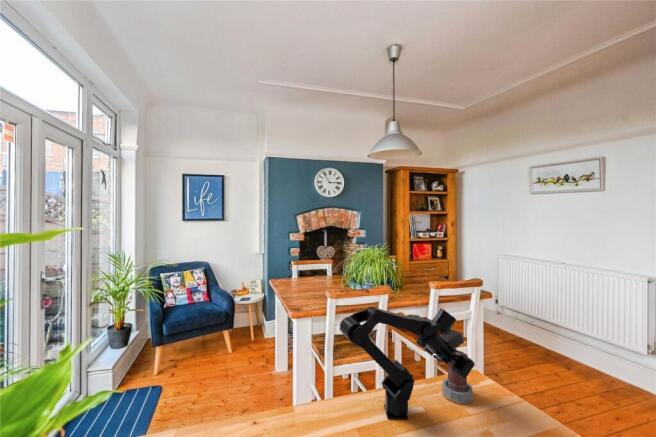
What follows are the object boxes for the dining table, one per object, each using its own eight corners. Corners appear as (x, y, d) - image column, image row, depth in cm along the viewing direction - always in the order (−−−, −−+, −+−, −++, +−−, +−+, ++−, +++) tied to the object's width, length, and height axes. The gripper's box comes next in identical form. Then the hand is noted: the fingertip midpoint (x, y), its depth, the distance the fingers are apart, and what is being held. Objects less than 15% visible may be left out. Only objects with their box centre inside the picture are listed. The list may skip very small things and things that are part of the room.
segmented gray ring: (448, 404, 101) (448, 394, 101) (437, 386, 111) (438, 377, 111) (478, 404, 101) (478, 394, 101) (464, 386, 111) (464, 377, 111)
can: (470, 397, 103) (471, 357, 103) (453, 398, 103) (454, 357, 102) (460, 387, 109) (462, 349, 109) (444, 387, 109) (445, 349, 109)
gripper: (471, 336, 95) (495, 364, 99) (431, 315, 113) (453, 340, 117) (451, 364, 93) (476, 391, 97) (413, 339, 110) (437, 363, 115)
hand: (460, 369), depth 106 cm, fingers closed on can, 5 cm apart
